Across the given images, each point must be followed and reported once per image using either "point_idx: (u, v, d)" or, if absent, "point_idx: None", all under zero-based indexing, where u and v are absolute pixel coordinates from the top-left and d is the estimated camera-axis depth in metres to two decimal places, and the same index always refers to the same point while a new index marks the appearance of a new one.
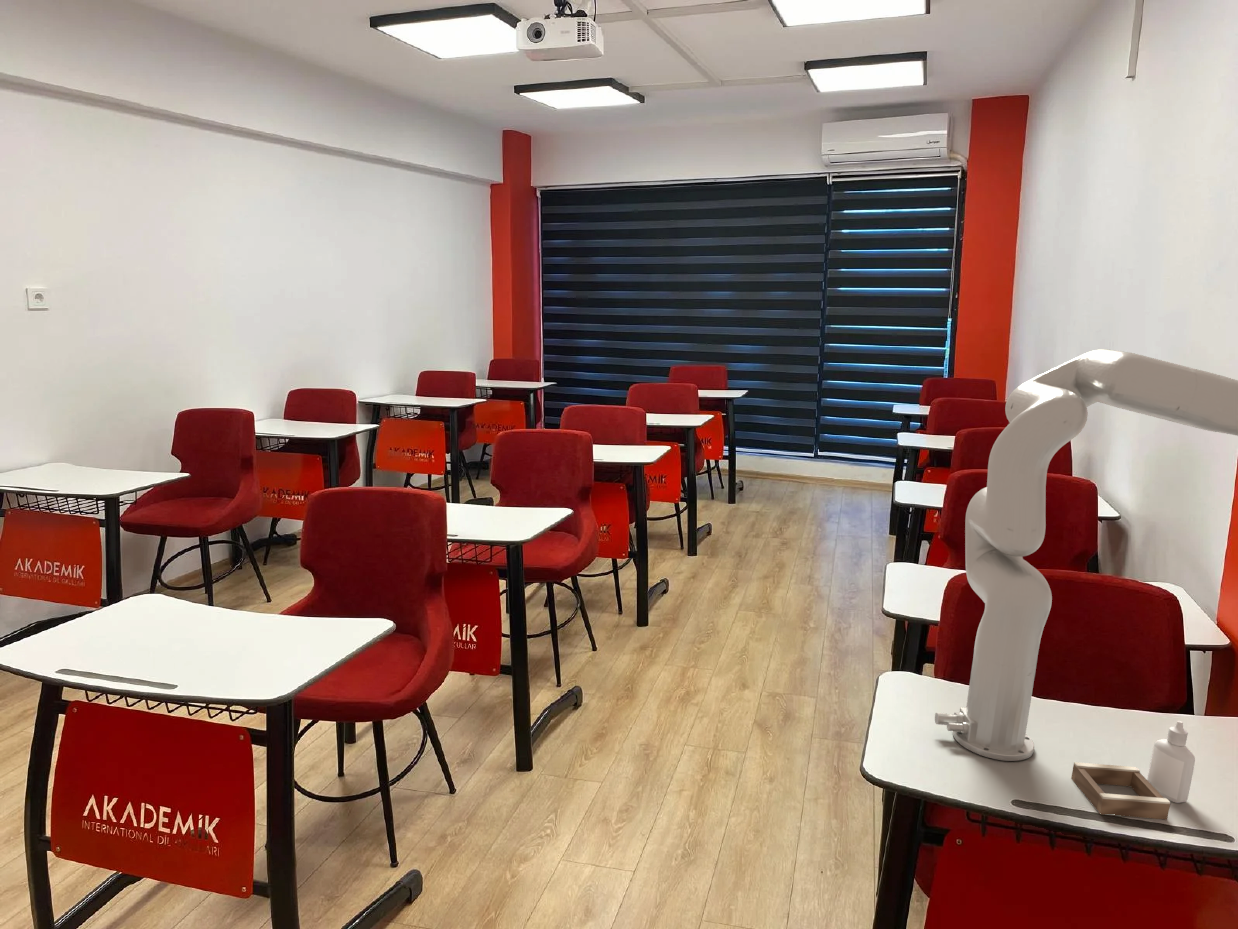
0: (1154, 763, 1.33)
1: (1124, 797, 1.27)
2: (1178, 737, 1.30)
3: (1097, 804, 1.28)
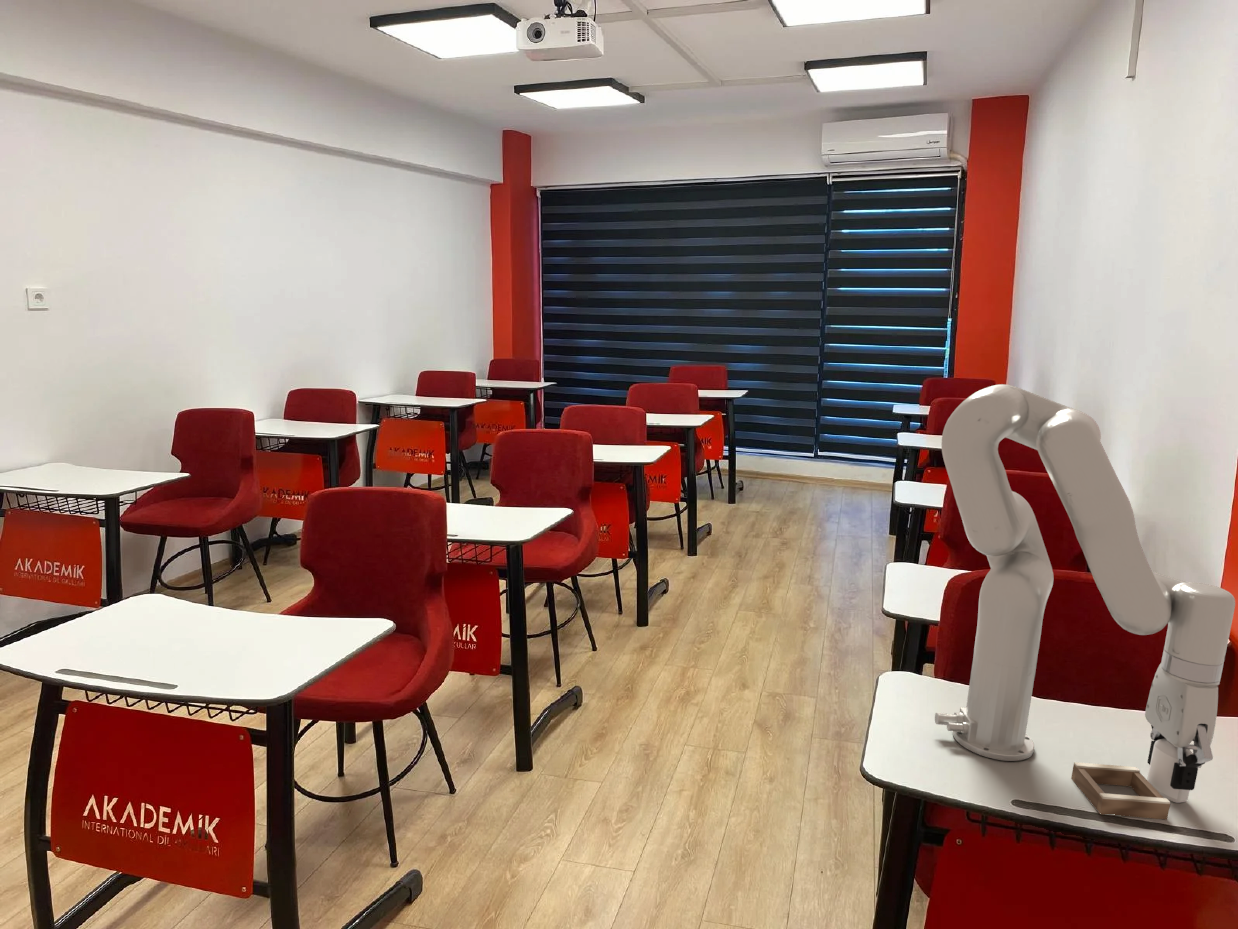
0: (1154, 763, 1.33)
1: (1124, 797, 1.27)
2: None
3: (1097, 804, 1.28)
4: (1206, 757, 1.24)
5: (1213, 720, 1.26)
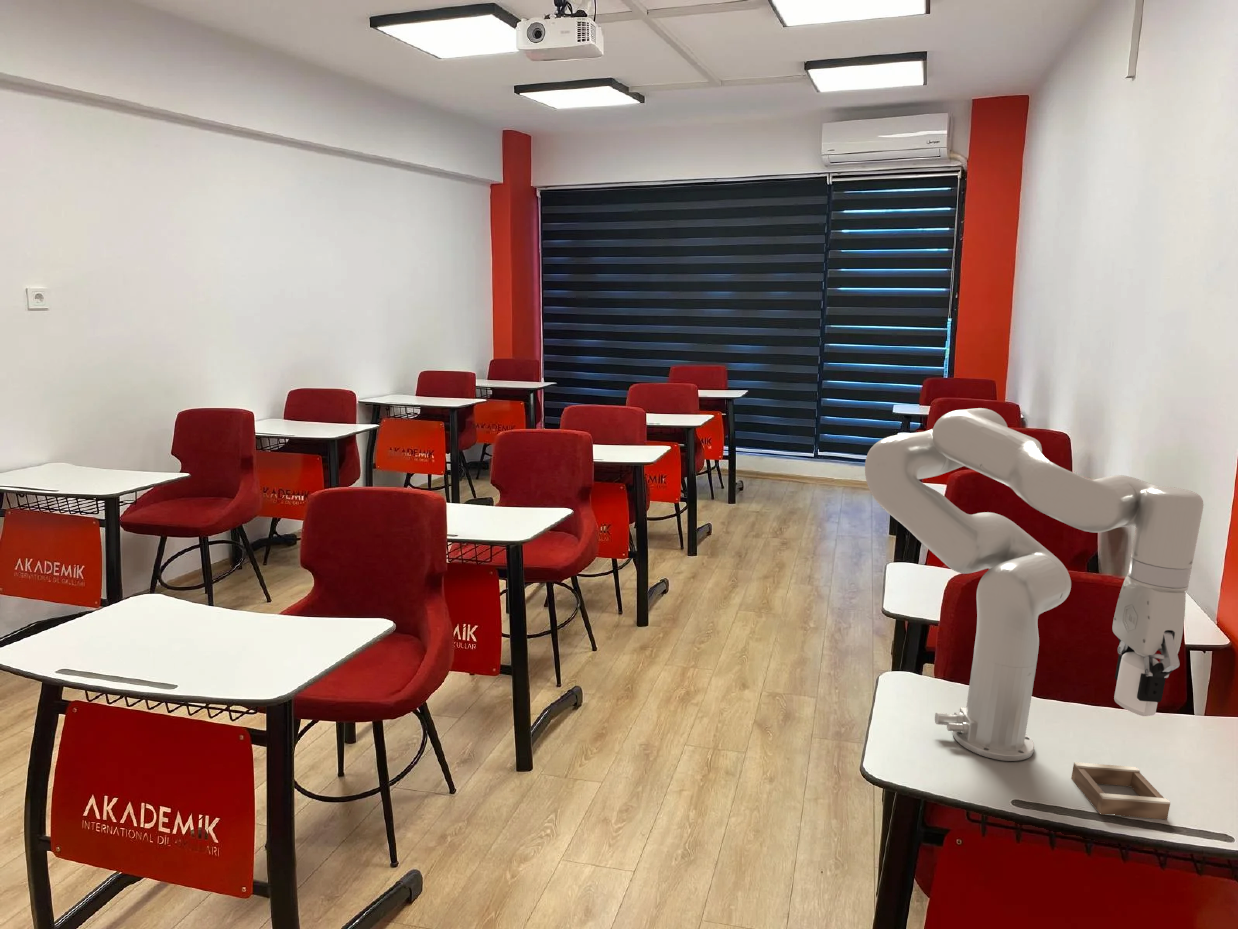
0: (1121, 677, 1.29)
1: (1124, 797, 1.27)
2: None
3: (1097, 804, 1.28)
4: (1173, 663, 1.19)
5: (1180, 627, 1.21)
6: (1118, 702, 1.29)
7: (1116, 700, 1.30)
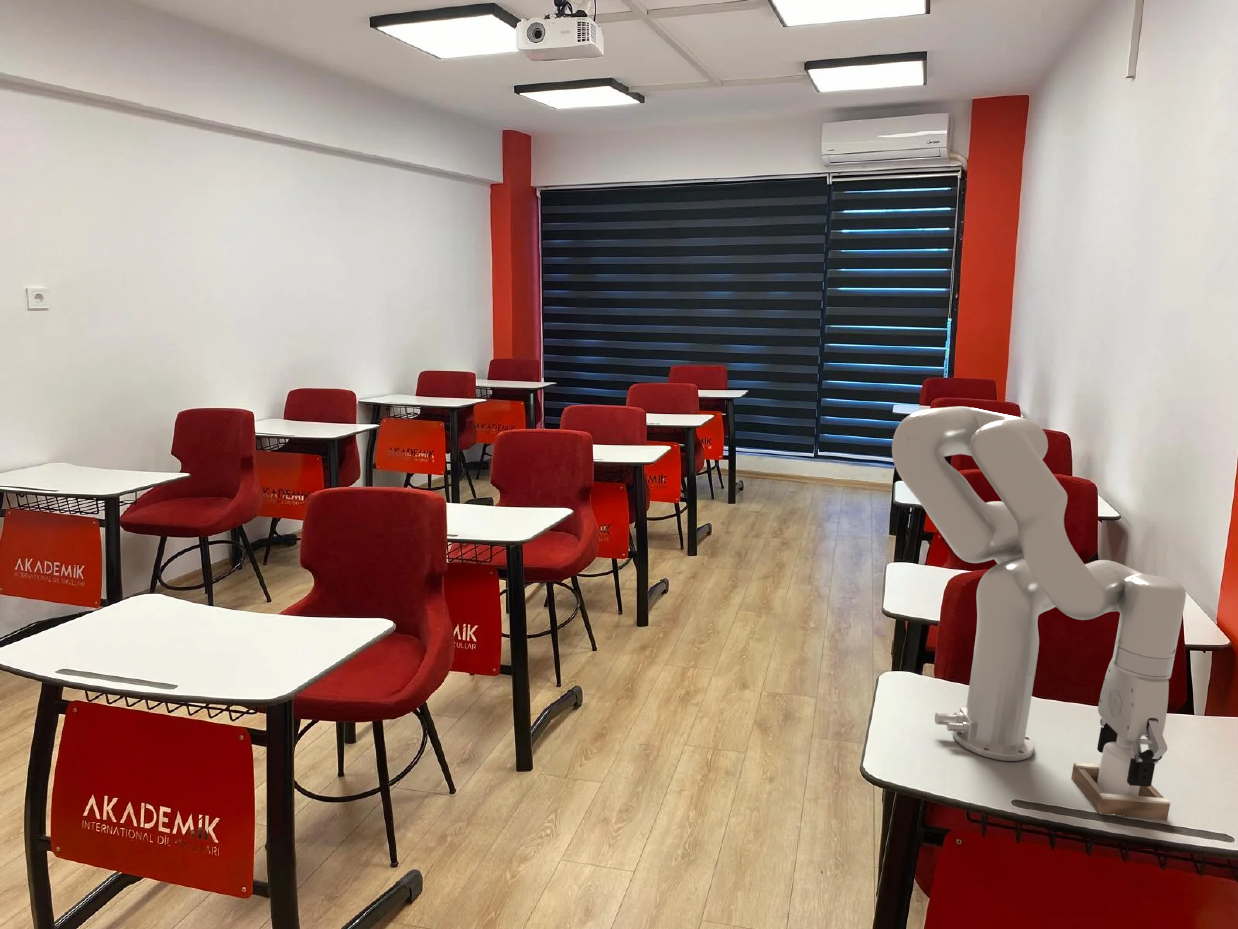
0: (1104, 766, 1.32)
1: (1124, 797, 1.27)
2: None
3: (1097, 804, 1.28)
4: (1160, 747, 1.21)
5: (1164, 715, 1.23)
6: None
7: None
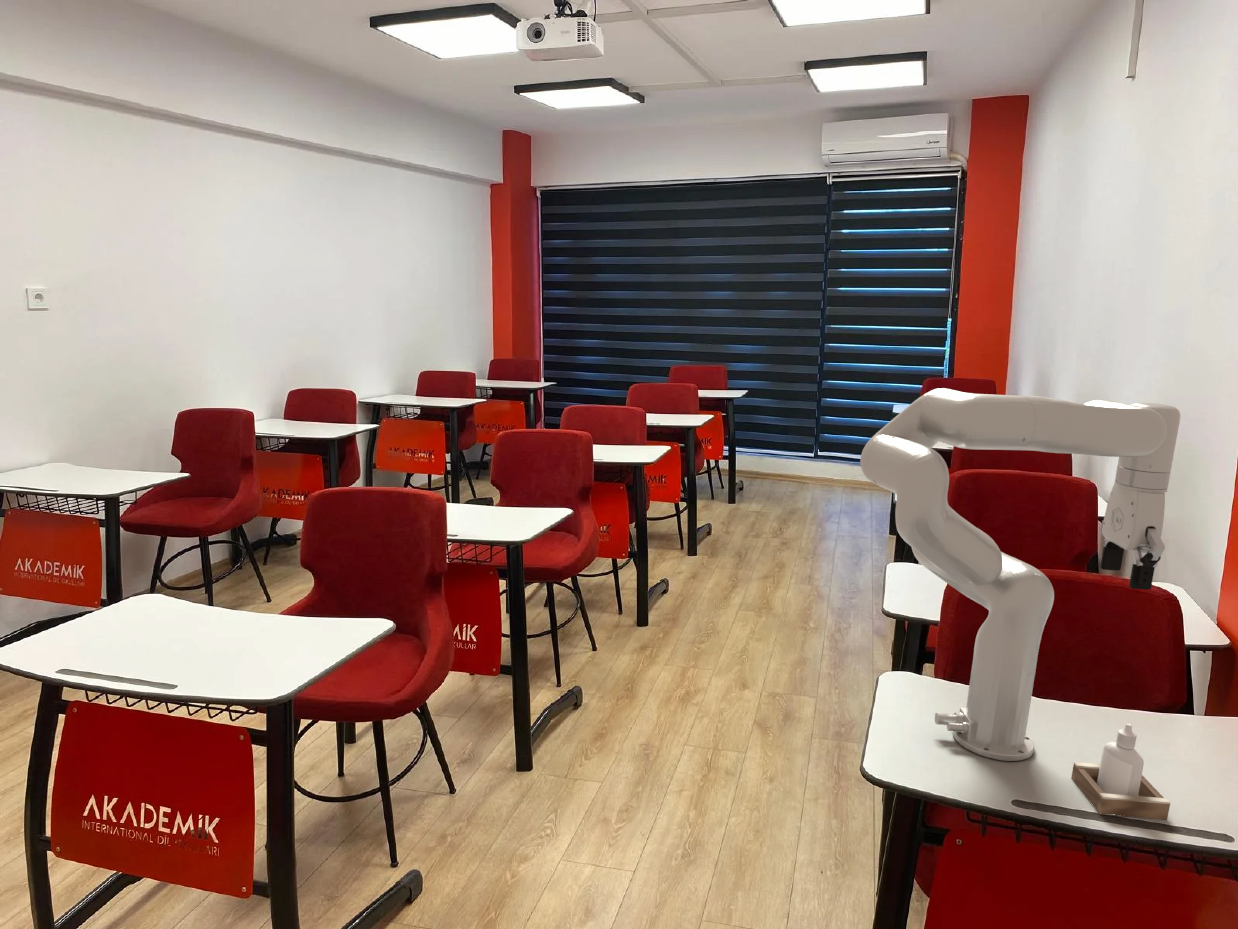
0: (1103, 766, 1.32)
1: (1124, 797, 1.27)
2: (1127, 740, 1.29)
3: (1097, 804, 1.28)
4: (1159, 546, 1.35)
5: (1160, 523, 1.38)
6: None
7: None
